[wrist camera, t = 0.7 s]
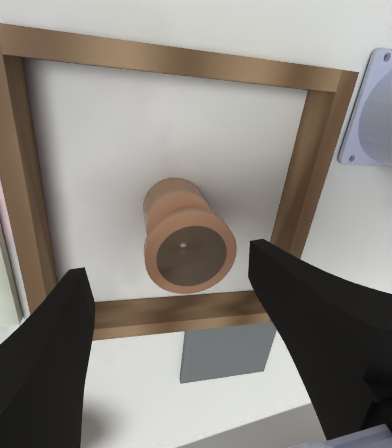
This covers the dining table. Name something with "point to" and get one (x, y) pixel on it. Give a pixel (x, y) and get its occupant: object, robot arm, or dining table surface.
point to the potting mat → (226, 351)
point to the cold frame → (169, 64)
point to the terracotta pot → (185, 239)
